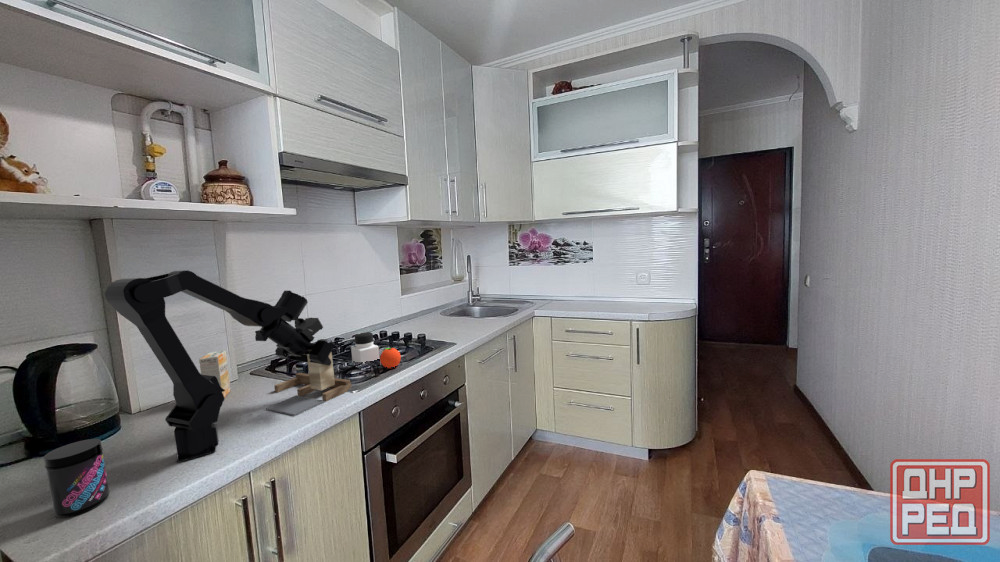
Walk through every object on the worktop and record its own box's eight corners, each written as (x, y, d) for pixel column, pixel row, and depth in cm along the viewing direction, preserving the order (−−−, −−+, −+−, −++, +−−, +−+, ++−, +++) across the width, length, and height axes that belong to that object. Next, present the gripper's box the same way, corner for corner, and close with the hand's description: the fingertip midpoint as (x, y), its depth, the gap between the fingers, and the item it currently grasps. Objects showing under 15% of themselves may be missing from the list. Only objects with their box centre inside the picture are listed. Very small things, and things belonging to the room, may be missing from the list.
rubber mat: (295, 415, 100) (294, 414, 100) (265, 409, 105) (265, 407, 105) (324, 402, 108) (324, 400, 108) (296, 396, 113) (296, 395, 113)
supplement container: (50, 525, 63) (38, 464, 62) (58, 506, 68) (47, 449, 67) (108, 505, 67) (99, 448, 66) (112, 488, 72) (103, 434, 71)
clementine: (375, 368, 135) (373, 348, 134) (392, 363, 140) (390, 343, 140) (388, 372, 130) (386, 351, 129) (405, 366, 135) (404, 346, 134)
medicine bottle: (380, 365, 138) (377, 332, 137) (361, 370, 134) (357, 336, 132) (371, 361, 144) (368, 329, 142) (352, 366, 139) (349, 333, 138)
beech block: (321, 390, 111) (317, 356, 110) (310, 388, 113) (307, 354, 112) (334, 384, 115) (331, 351, 114) (324, 383, 117) (320, 350, 116)
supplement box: (224, 400, 114) (218, 356, 113) (204, 403, 112) (198, 359, 111) (231, 390, 122) (226, 349, 120) (213, 393, 120) (207, 352, 119)
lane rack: (326, 401, 108) (325, 390, 108) (275, 391, 118) (273, 382, 118) (351, 389, 116) (350, 379, 116) (301, 381, 126) (300, 372, 126)
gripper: (325, 311, 104) (360, 341, 115) (280, 309, 113) (317, 337, 123) (301, 347, 98) (341, 376, 109) (256, 343, 106) (297, 369, 117)
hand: (324, 363), depth 115 cm, fingers closed on beech block, 5 cm apart
